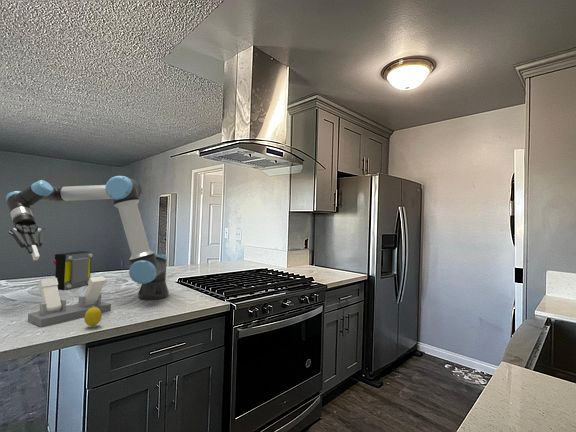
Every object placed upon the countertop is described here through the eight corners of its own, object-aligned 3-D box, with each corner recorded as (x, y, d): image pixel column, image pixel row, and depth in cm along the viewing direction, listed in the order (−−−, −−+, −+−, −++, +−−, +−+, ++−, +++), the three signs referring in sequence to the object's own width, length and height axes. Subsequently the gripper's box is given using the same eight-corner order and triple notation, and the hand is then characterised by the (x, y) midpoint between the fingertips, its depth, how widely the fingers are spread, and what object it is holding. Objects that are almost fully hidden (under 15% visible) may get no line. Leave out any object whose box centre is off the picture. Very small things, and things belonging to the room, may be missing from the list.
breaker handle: (80, 301, 132) (89, 277, 129) (94, 298, 137) (103, 275, 134) (83, 306, 131) (92, 282, 128) (97, 303, 136) (106, 280, 133)
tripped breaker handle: (43, 313, 120) (37, 282, 123) (59, 310, 124) (53, 280, 128) (46, 310, 118) (40, 279, 122) (63, 307, 123) (56, 277, 127)
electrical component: (66, 290, 168) (68, 255, 169) (52, 289, 170) (53, 254, 171) (92, 284, 186) (94, 252, 186) (79, 282, 188) (80, 251, 188)
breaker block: (27, 320, 119) (28, 302, 120) (96, 306, 142) (97, 290, 142) (40, 327, 113) (41, 307, 114) (110, 310, 136) (111, 294, 136)
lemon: (89, 324, 118) (90, 304, 118) (103, 324, 118) (104, 304, 119) (80, 329, 113) (81, 308, 113) (96, 329, 113) (97, 308, 113)
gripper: (37, 224, 146) (51, 262, 137) (2, 224, 135) (14, 265, 126) (43, 213, 143) (57, 251, 134) (7, 212, 132) (20, 253, 123)
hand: (36, 258), depth 130 cm, fingers closed
